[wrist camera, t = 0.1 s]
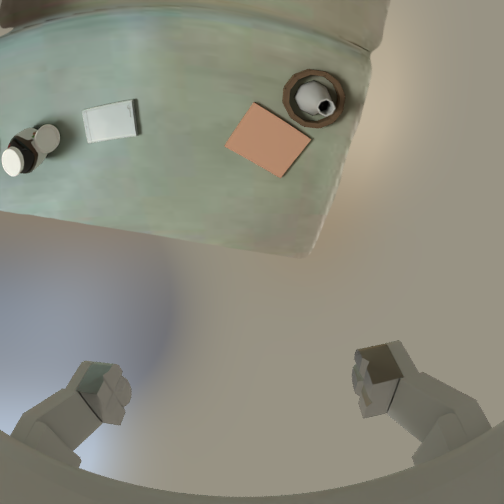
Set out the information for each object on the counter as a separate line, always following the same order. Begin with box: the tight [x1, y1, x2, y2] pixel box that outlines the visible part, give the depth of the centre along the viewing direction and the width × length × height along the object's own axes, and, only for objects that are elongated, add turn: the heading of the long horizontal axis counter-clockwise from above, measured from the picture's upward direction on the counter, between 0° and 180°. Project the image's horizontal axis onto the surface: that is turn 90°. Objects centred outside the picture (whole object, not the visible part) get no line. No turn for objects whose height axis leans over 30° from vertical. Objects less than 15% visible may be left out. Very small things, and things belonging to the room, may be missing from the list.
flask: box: [294, 80, 336, 117], centre depth 44 cm, size 7×7×10 cm
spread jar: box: [2, 124, 60, 176], centre depth 44 cm, size 12×11×12 cm
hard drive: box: [82, 99, 138, 144], centre depth 48 cm, size 2×8×12 cm
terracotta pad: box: [225, 102, 311, 178], centre depth 54 cm, size 11×14×1 cm
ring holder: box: [282, 69, 345, 128], centre depth 47 cm, size 12×12×2 cm
